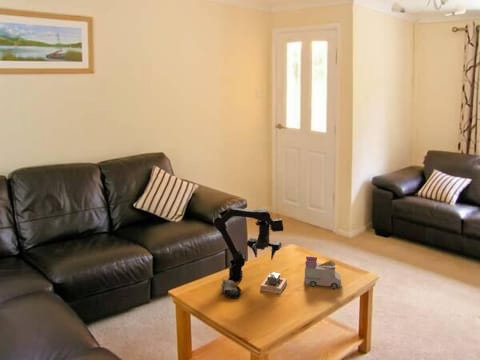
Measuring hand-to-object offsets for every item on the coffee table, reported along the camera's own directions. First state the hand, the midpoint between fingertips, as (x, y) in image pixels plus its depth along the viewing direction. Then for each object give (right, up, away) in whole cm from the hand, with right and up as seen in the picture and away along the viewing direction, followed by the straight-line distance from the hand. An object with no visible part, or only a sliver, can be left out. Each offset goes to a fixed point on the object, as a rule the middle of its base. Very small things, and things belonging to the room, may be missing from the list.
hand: (263, 258), depth 261 cm
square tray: (+5, -14, -10) cm, 17 cm away
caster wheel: (-18, -16, -17) cm, 29 cm away
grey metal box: (+5, -13, -10) cm, 17 cm away
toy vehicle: (+31, -13, -8) cm, 35 cm away
